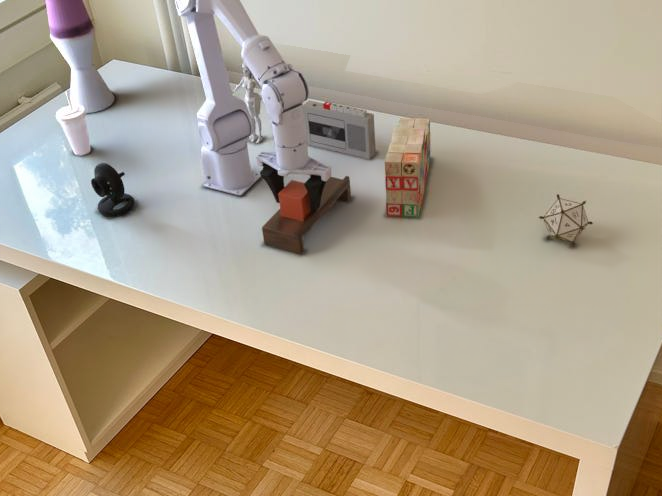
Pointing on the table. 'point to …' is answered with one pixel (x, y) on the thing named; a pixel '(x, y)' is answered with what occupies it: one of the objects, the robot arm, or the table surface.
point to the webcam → (110, 191)
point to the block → (295, 201)
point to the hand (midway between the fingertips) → (298, 204)
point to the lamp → (78, 53)
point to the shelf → (292, 231)
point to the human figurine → (251, 99)
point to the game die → (566, 220)
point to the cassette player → (340, 128)
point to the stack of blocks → (407, 167)
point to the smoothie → (75, 126)
